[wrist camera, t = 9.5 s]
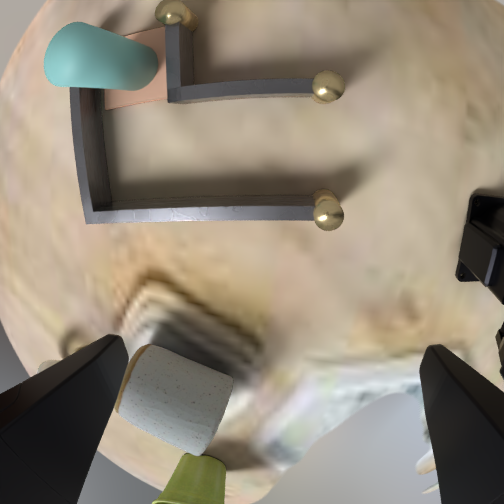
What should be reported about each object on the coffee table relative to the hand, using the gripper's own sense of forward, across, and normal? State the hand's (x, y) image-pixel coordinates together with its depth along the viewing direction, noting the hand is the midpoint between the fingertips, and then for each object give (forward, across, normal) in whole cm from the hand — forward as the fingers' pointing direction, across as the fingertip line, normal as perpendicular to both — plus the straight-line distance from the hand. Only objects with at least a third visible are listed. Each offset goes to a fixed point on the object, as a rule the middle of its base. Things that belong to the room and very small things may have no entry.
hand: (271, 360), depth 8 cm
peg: (+12, +9, -10) cm, 18 cm away
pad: (+12, +9, -10) cm, 19 cm away
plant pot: (+13, +10, +33) cm, 37 cm away
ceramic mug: (+13, +9, +15) cm, 22 cm away
